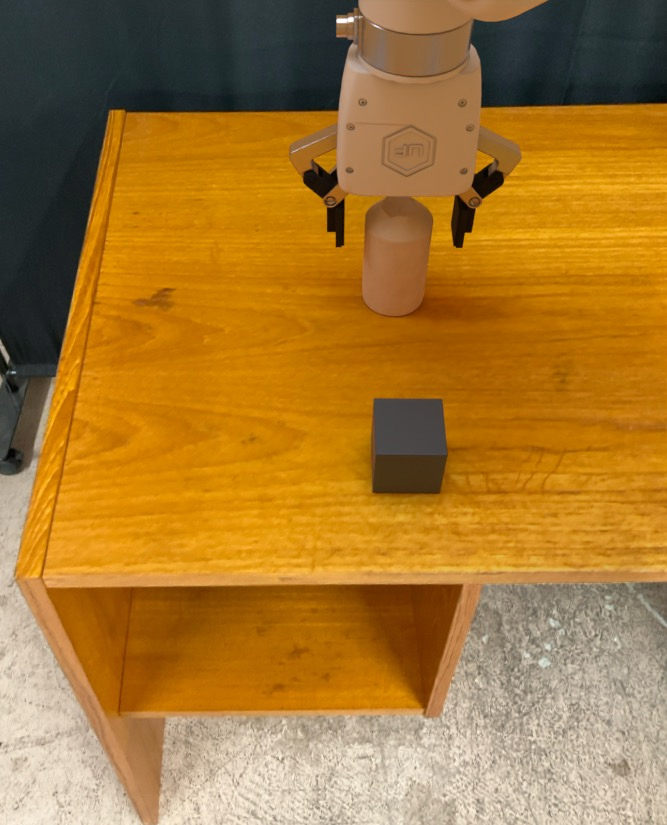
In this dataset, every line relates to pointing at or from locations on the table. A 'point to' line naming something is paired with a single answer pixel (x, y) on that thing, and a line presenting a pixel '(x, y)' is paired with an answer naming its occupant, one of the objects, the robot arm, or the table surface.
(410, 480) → the near block
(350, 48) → the robot arm
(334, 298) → the table surface
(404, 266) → the candle
